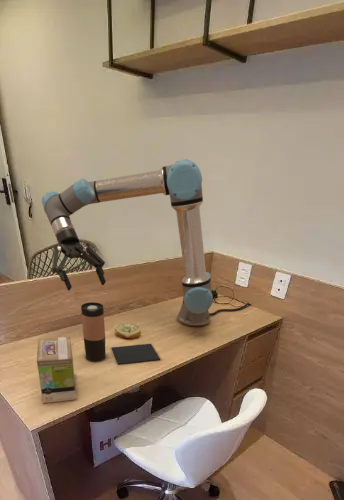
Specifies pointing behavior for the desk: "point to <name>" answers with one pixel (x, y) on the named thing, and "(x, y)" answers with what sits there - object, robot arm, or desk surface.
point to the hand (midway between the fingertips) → (87, 286)
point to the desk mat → (135, 354)
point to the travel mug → (93, 331)
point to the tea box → (56, 369)
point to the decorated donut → (127, 330)
